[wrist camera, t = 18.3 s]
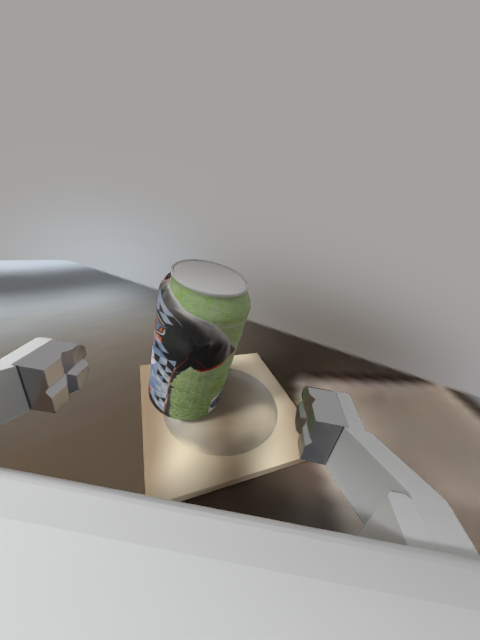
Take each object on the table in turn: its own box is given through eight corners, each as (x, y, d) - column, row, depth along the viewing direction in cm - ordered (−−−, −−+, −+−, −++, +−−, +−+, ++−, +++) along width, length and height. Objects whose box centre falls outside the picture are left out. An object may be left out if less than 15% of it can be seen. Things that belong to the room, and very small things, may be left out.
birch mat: (145, 512, 14) (145, 507, 14) (140, 370, 25) (139, 365, 24) (324, 454, 19) (327, 449, 19) (256, 357, 30) (257, 352, 29)
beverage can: (180, 367, 25) (184, 248, 20) (244, 398, 22) (270, 270, 17) (130, 407, 20) (117, 259, 14) (206, 453, 17) (226, 293, 12)
